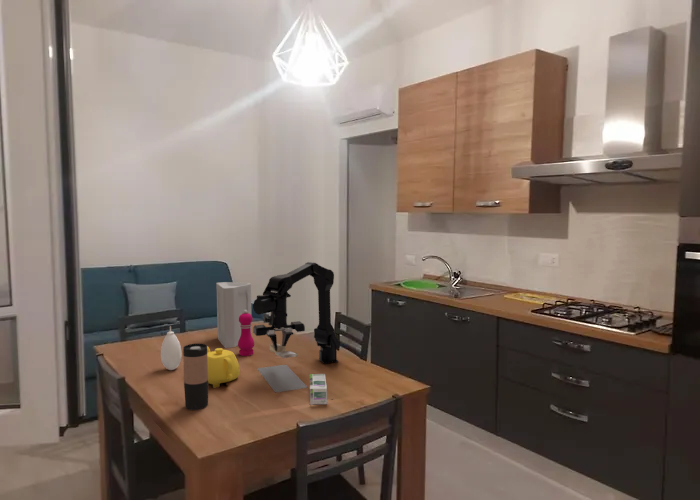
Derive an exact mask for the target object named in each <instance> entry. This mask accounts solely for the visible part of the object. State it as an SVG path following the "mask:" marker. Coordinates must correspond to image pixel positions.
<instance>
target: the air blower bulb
mask: <svg viewBox="0 0 700 500" xmlns="http://www.w3.org/2000/svg"><path fill="white" fill-rule="evenodd" d="M182 352H183V350H182V346H181V342H180V341H179V339H178V337H177V335H176V334H175V332H174V331H172V326H171V325H169V331H168V332H167V333H166V335H165V337H164V339H163V340H162V344H161V347H160V360H161V363H162V365H163V366H164V368H166V369H167V370H169V371H174V370H175V369H177V367H179V366H180V363H181V361H182V357H183V356H182V355H183V353H182Z"/></svg>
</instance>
